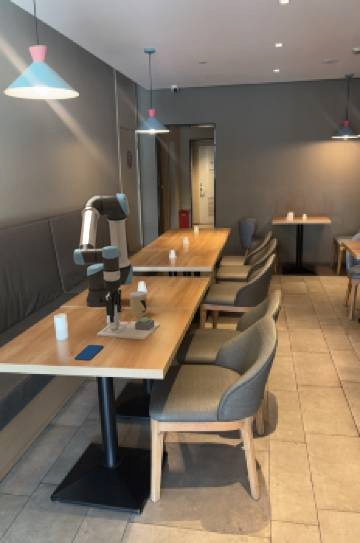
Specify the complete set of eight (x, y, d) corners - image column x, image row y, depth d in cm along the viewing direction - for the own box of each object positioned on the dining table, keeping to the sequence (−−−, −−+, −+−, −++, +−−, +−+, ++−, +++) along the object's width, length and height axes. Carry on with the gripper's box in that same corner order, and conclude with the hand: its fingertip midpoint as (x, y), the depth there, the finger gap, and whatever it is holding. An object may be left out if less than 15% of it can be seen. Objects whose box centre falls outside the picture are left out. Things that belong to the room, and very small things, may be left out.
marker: (109, 330, 214) (107, 304, 211) (112, 327, 217) (111, 302, 215) (116, 331, 213) (114, 305, 210) (119, 328, 216) (118, 303, 214)
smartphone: (73, 358, 184) (88, 344, 198) (73, 360, 184) (88, 346, 198) (90, 359, 182) (104, 345, 196) (90, 362, 182) (104, 347, 196)
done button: (139, 325, 215) (139, 319, 215) (142, 322, 219) (142, 317, 218) (147, 325, 214) (146, 320, 213) (150, 323, 218) (149, 317, 217)
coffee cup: (145, 317, 235) (143, 295, 232) (127, 317, 237) (126, 295, 234) (149, 312, 244) (148, 291, 241) (133, 312, 246) (132, 290, 243)
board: (97, 335, 211) (96, 327, 210) (115, 322, 229) (115, 314, 228) (144, 339, 203) (144, 331, 203) (159, 325, 222) (159, 317, 221)
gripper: (111, 283, 201) (114, 333, 206) (126, 276, 217) (129, 322, 221) (96, 283, 204) (99, 332, 208) (112, 275, 219) (115, 321, 224)
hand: (115, 327), depth 215 cm, fingers closed on marker, 3 cm apart
